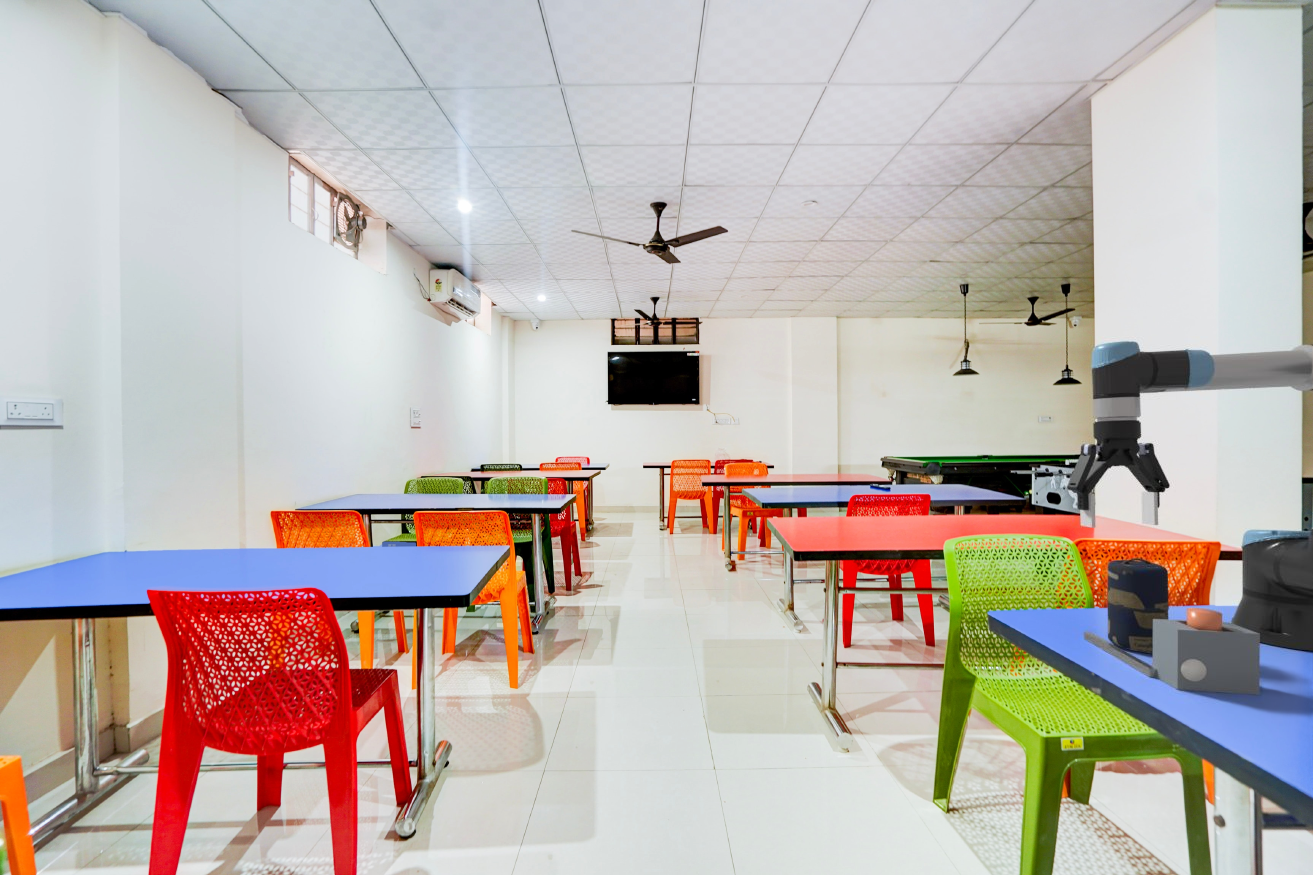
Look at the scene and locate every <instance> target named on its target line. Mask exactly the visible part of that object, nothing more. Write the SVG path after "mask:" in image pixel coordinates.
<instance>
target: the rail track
mask: <svg viewBox="0 0 1313 875" xmlns="http://www.w3.org/2000/svg"><path fill="white" fill-rule="evenodd" d="M1083 639H1084V640H1085V641H1087V642H1088V643H1090V644H1092V645H1094V646H1096V647H1097V648H1099V649H1101V650H1102V651H1104V652H1106V653H1108V654H1109V655H1111V656H1113V657H1114V658H1116V659H1117V660H1119V661H1121V662H1123V663H1124V664H1126V665H1128V666H1130V667H1132V668H1133V669H1135V670H1136V671H1138V672H1140V673H1142V674H1144V675H1145V676H1147V677H1149V678H1156V679H1158V678H1157V669H1156V668H1154V667H1153V665H1150V664H1149V663H1147V662H1145V661H1143V660H1141V659H1140V658H1138V657H1136V656H1134V655H1133V654H1131V653H1130V652H1127V651H1125V650H1123V649H1122V648H1121V647H1119V646H1117V645H1115V644H1113V643H1112V642H1109V640H1108V641H1107V640H1106V639H1104V638H1102V637H1100V636H1098V635H1096V634H1095V633H1093V632H1091V631H1083Z"/></svg>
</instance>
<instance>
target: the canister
mask: <svg viewBox="0 0 1313 875" xmlns="http://www.w3.org/2000/svg"><path fill="white" fill-rule="evenodd" d="M1106 597H1107V638H1108V641H1110V643H1111V644H1113V645H1115V646H1117V647H1119V648H1123V649H1126V650H1131V651H1136V652H1139V653H1140V652H1141V653H1149V654H1153V619H1166V620H1169V609H1170V607H1169V605H1170V604H1169V572H1168V570H1167V568H1166V567H1165V566H1163V565H1161V564H1157V563H1154V562H1150V561H1149V560H1147V559H1144V558H1138V557H1135V558H1130V559H1117V560H1111V561H1109V563H1108V564H1107V596H1106Z"/></svg>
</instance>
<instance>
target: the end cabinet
mask: <svg viewBox="0 0 1313 875" xmlns="http://www.w3.org/2000/svg"><path fill="white" fill-rule="evenodd" d="M1260 651H1261V642H1260V634H1259V633H1256V632H1253V631H1251V630H1248V629H1245V628H1243V627H1240V626H1238V625H1235V624H1232V623H1231V622H1230V621H1229V622H1227V621H1222V631H1203V630H1197V629H1194V628H1192V627H1190V626H1187V619H1186V620H1184V619H1182V620H1181V619H1168V620H1166V619H1153V653H1152V666H1153V667H1154V668H1156V669H1157V678H1156V679H1158V680H1160V681H1162V682H1163V683H1166V685H1169V686H1170V687H1171V688H1173V689H1175V690H1179V691H1194V692H1195V691H1196V692H1206V693H1207V692H1210V693H1222V694H1223V693H1225V694H1238V695H1239V694H1240V695H1241V694H1243V695H1257V696H1259V695H1260V683H1261V682H1260V678H1261V677H1260V676H1261V675H1260V673H1261V672H1260V664H1261V661H1260V660H1261V659H1260V657H1261V652H1260Z"/></svg>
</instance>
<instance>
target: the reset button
mask: <svg viewBox="0 0 1313 875" xmlns="http://www.w3.org/2000/svg"><path fill="white" fill-rule="evenodd" d="M1186 620H1187V626H1190V627H1192V628H1194V629H1197V630H1203V631H1222V622H1223V613H1221V612H1220V611H1216V610H1213V609H1209V608H1208V609H1207V608H1200V607H1187V608H1186Z"/></svg>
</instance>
